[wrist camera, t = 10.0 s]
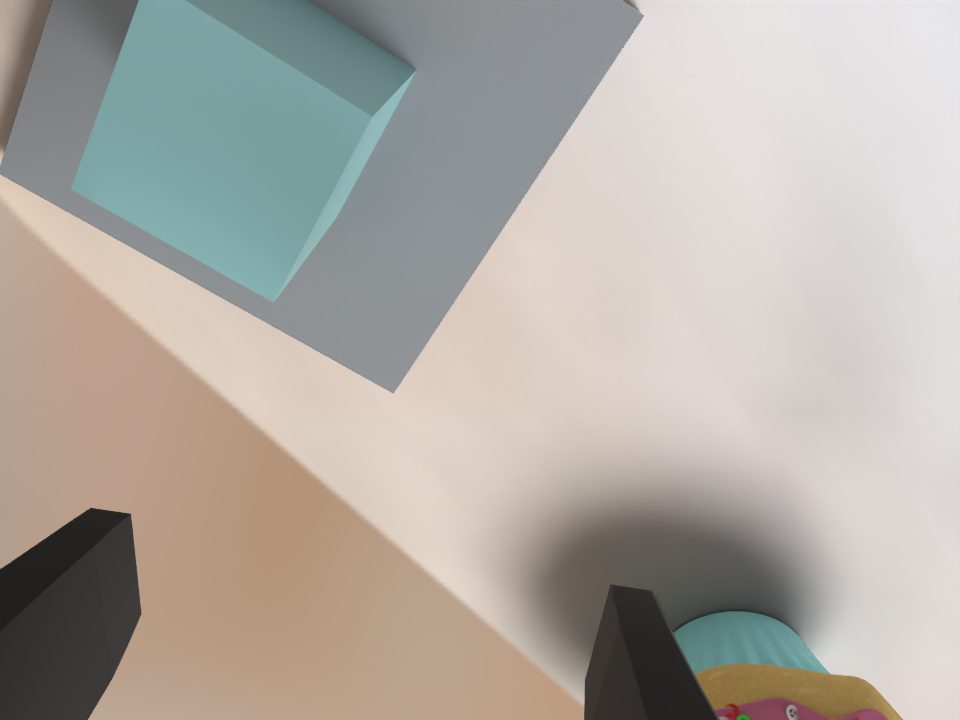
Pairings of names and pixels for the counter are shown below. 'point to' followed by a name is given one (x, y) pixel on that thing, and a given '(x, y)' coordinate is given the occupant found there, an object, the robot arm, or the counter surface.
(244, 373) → the counter surface
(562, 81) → the slate coaster
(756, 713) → the cupcake
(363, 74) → the teal block
